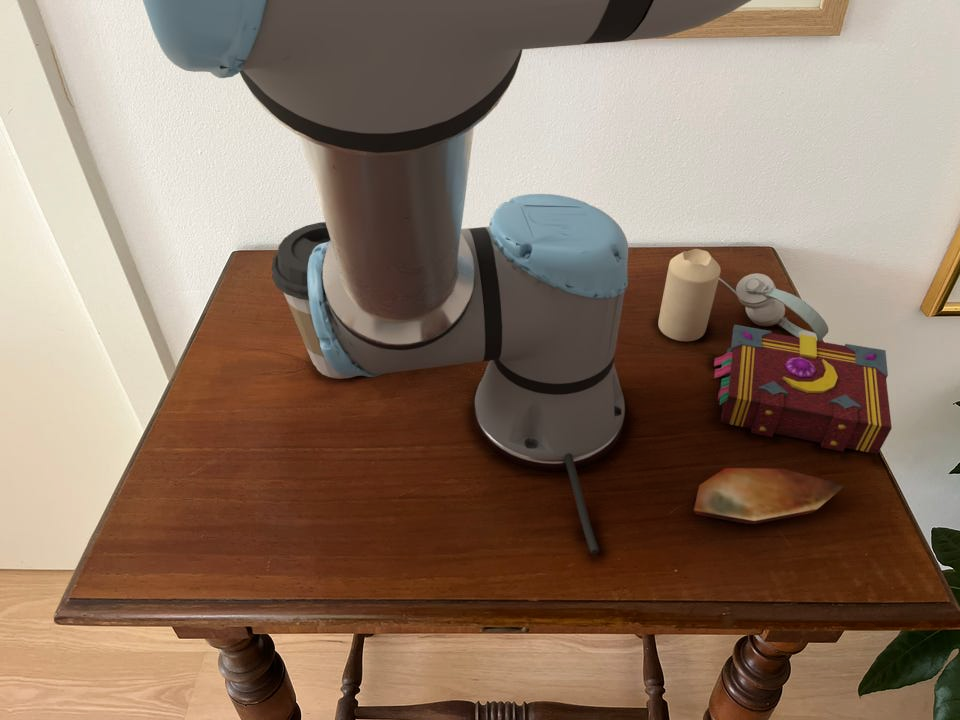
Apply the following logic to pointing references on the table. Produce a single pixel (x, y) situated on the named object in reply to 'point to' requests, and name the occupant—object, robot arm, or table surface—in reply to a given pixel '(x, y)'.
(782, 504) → the decorative stone
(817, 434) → the decorative book
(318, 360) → the coffee cup
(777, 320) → the headphones
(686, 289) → the candle
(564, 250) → the robot arm
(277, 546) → the table surface
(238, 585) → the table surface
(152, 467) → the table surface
